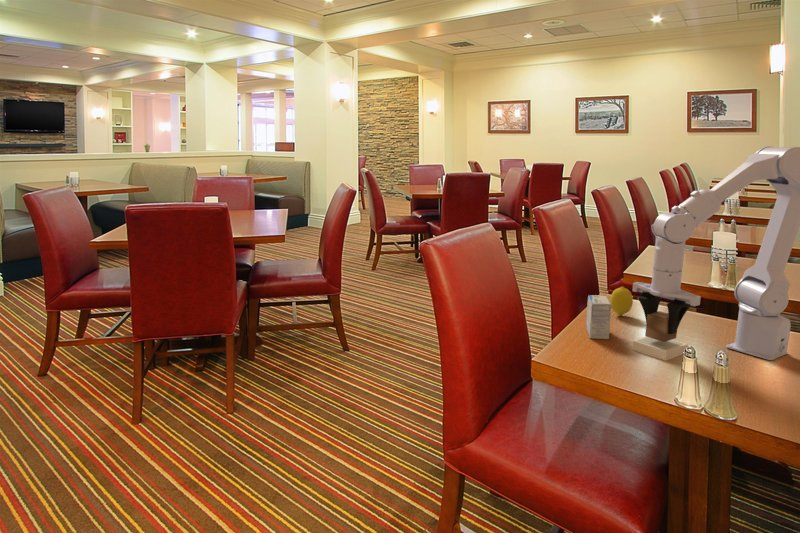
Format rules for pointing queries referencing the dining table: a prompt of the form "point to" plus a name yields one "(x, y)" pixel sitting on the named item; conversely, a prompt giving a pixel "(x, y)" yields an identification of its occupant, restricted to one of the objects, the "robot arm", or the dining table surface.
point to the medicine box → (598, 317)
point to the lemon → (621, 301)
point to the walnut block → (658, 326)
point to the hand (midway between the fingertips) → (661, 329)
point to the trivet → (659, 347)
